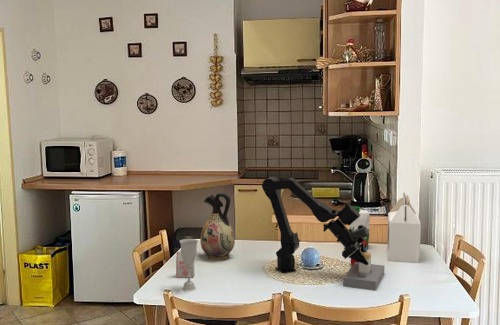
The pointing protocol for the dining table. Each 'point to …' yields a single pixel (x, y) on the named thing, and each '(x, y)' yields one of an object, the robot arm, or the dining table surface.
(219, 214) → the ceramic jug
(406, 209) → the gable box
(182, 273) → the white red printed box
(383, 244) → the dining table surface
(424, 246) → the dining table surface
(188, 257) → the chalice
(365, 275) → the grey socket base
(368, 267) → the plug
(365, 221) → the milk carton
